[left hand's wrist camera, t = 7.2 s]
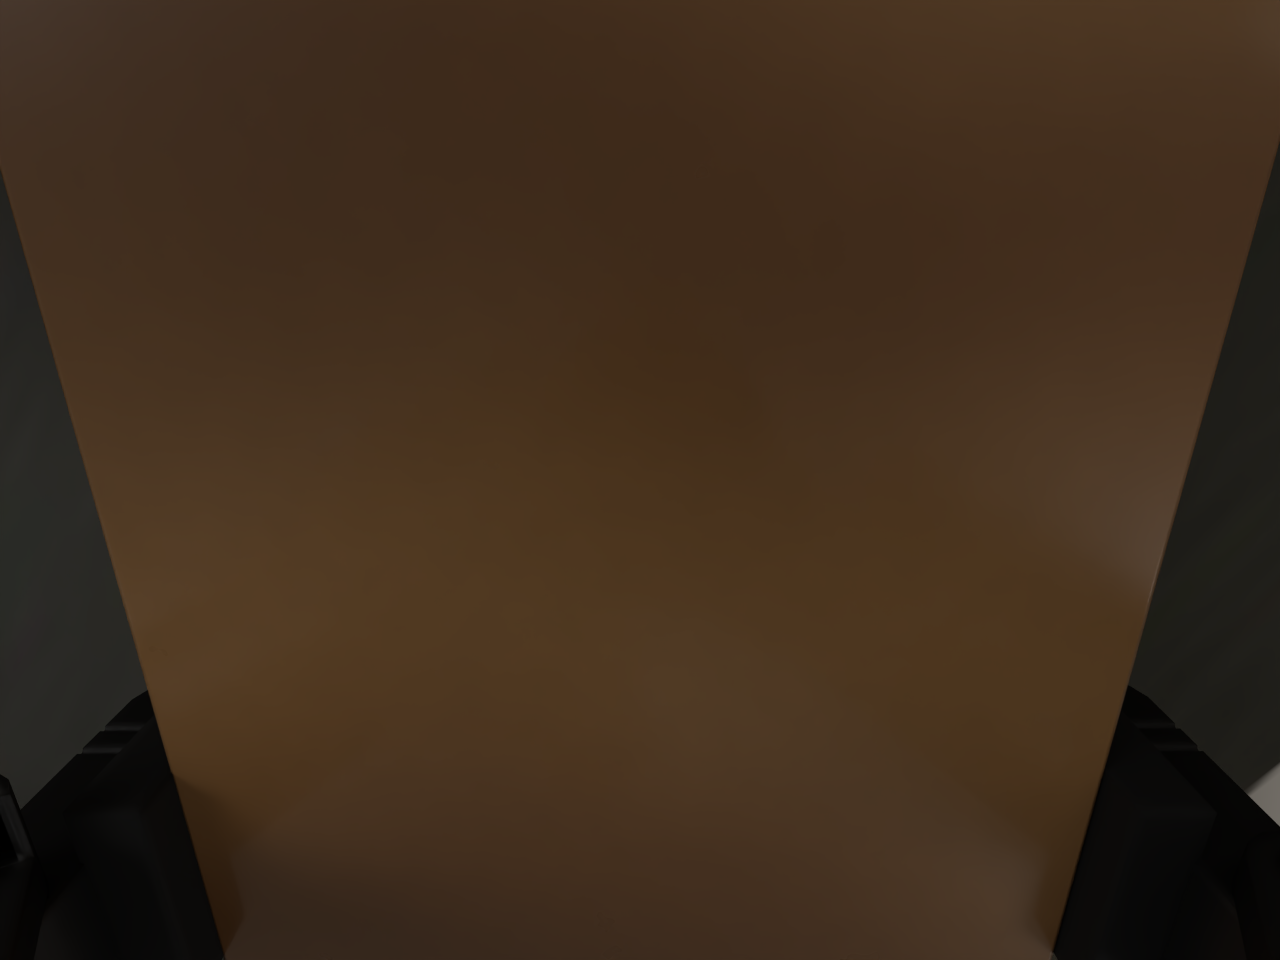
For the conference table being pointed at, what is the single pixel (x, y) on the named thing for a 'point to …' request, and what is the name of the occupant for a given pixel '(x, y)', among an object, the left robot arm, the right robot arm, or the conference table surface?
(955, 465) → the wide beam
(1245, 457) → the conference table surface
